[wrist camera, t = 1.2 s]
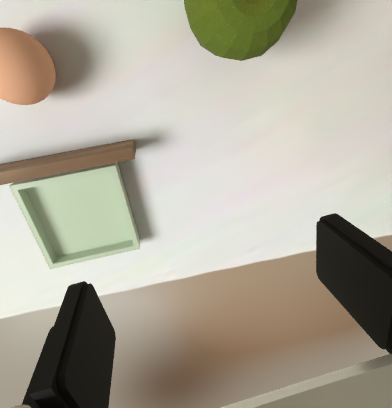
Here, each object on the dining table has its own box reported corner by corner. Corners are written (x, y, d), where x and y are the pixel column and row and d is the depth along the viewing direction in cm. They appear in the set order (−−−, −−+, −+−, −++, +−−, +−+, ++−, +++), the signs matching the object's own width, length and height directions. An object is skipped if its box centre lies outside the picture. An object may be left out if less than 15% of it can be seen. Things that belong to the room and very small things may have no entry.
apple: (155, 4, 26) (162, -45, 16) (224, -62, 25) (281, -162, 14) (208, 82, 30) (242, 84, 19) (270, 28, 29) (342, -1, 18)
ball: (-18, 38, 25) (-62, 27, 19) (49, 28, 25) (24, 15, 20) (12, 106, 27) (-21, 113, 22) (71, 96, 28) (55, 100, 23)
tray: (17, 179, 30) (9, 186, 29) (116, 160, 31) (115, 165, 30) (55, 258, 35) (50, 268, 33) (139, 239, 36) (139, 248, 34)
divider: (-14, 166, 29) (-36, 179, 26) (133, 139, 31) (131, 147, 27) (-9, 177, 30) (-29, 190, 26) (135, 149, 31) (134, 158, 28)
